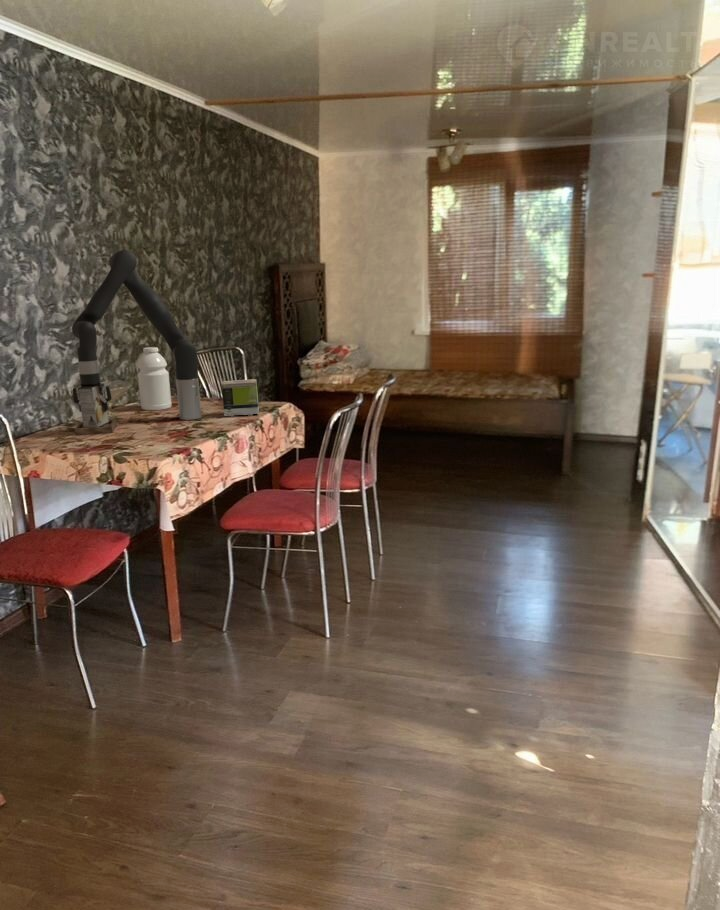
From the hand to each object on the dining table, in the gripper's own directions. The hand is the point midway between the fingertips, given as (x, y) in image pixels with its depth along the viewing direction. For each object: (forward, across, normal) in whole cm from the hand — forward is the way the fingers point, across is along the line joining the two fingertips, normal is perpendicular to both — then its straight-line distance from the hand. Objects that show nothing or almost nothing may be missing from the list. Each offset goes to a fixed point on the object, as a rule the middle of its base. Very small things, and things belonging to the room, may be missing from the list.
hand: (94, 412), depth 278 cm
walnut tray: (+7, 0, 0) cm, 7 cm away
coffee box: (+5, 0, 0) cm, 5 cm away
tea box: (+8, -59, -14) cm, 61 cm away
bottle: (+8, -21, -43) cm, 48 cm away
